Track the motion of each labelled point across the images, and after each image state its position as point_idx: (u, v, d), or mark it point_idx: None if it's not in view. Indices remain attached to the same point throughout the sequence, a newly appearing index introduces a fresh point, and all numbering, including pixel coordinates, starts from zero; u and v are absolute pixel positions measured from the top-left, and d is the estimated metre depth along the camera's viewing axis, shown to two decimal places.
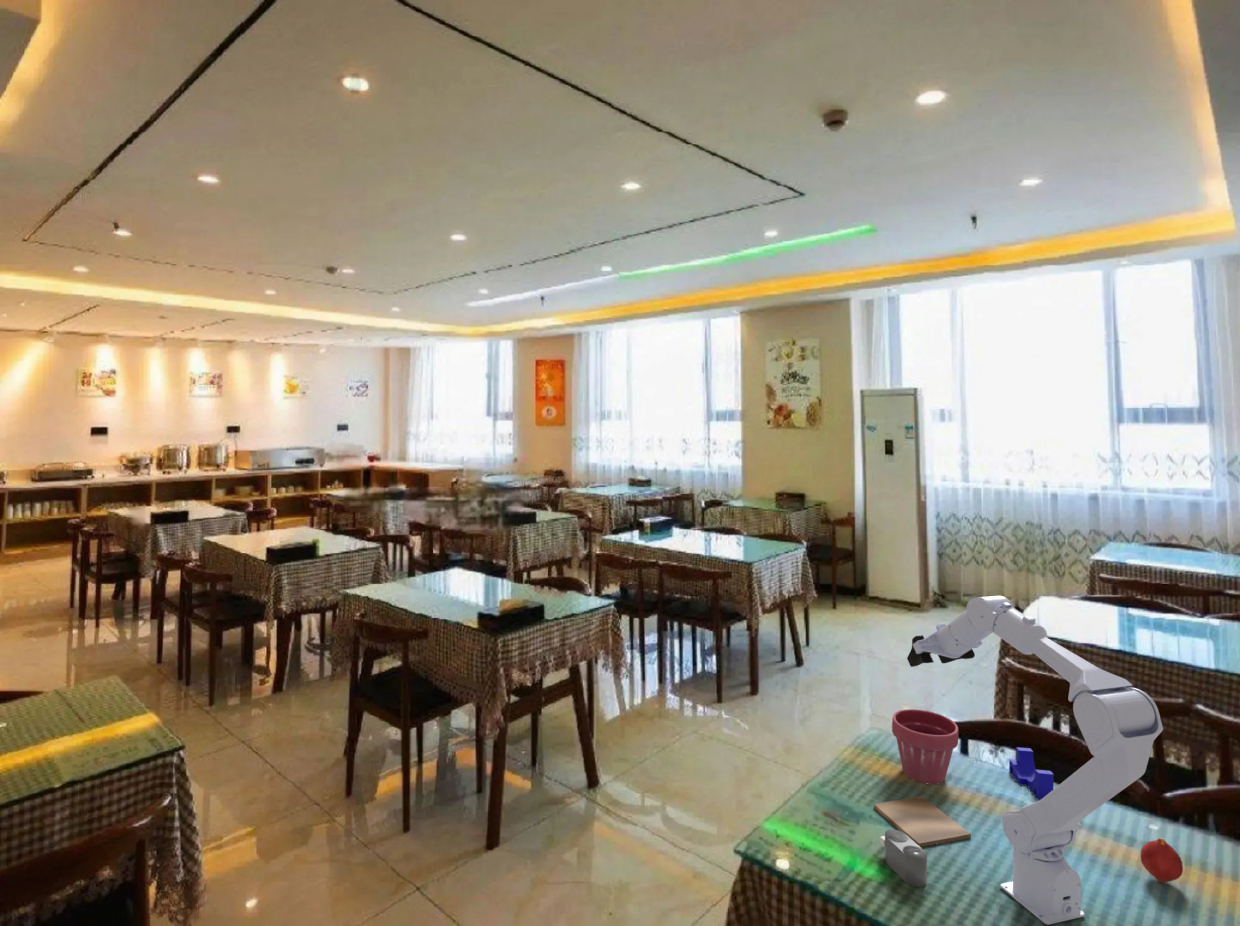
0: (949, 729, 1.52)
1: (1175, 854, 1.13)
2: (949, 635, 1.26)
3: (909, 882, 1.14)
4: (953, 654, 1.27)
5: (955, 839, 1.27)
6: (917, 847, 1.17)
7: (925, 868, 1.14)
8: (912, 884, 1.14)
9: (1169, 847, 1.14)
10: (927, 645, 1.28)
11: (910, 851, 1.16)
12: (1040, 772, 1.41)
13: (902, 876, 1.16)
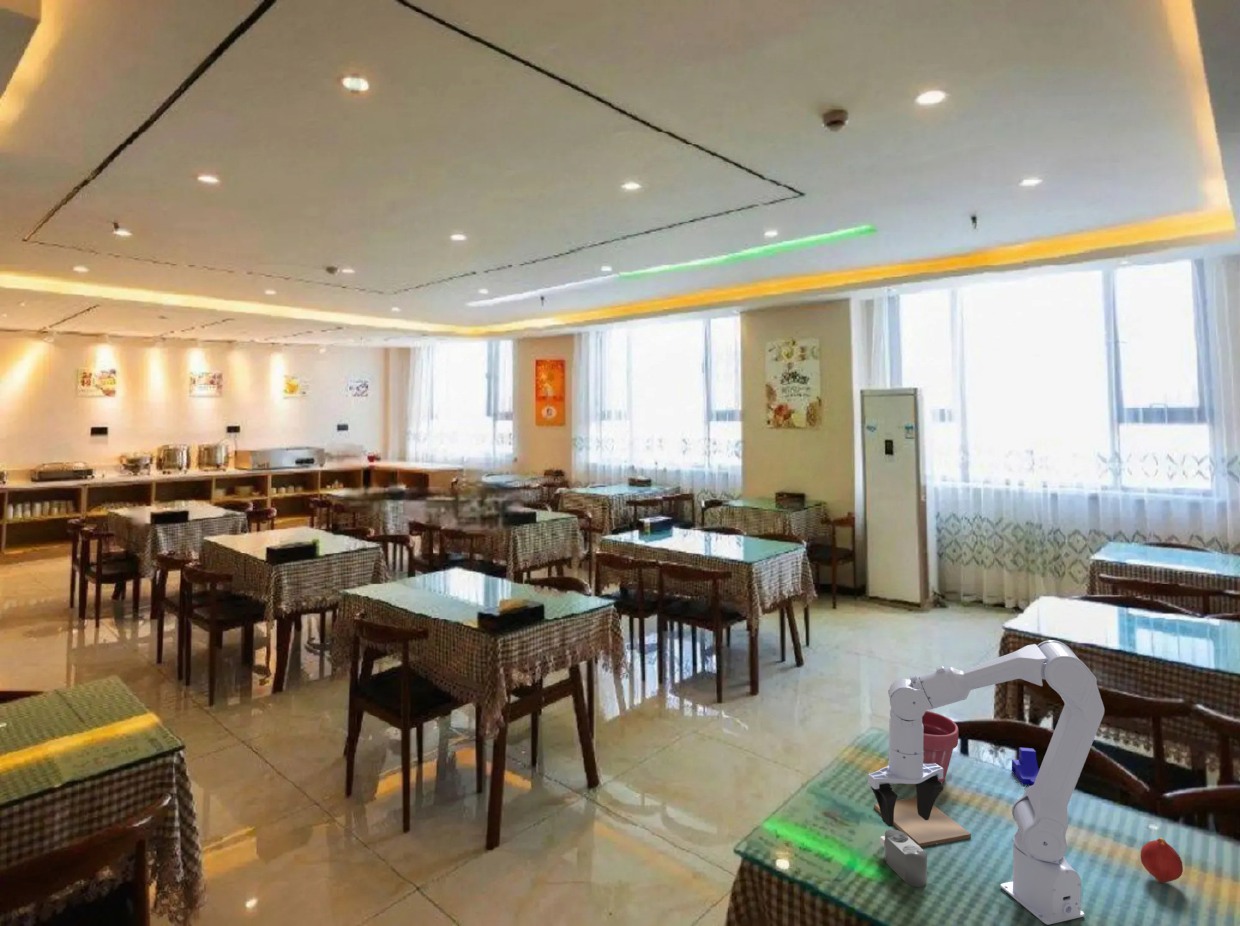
0: (949, 729, 1.52)
1: (1175, 854, 1.13)
2: (892, 752, 1.17)
3: (909, 882, 1.14)
4: (910, 776, 1.15)
5: (955, 839, 1.27)
6: (917, 847, 1.17)
7: (925, 868, 1.14)
8: (912, 884, 1.14)
9: (1169, 847, 1.14)
10: (880, 775, 1.16)
11: (910, 851, 1.16)
12: None
13: (902, 876, 1.16)
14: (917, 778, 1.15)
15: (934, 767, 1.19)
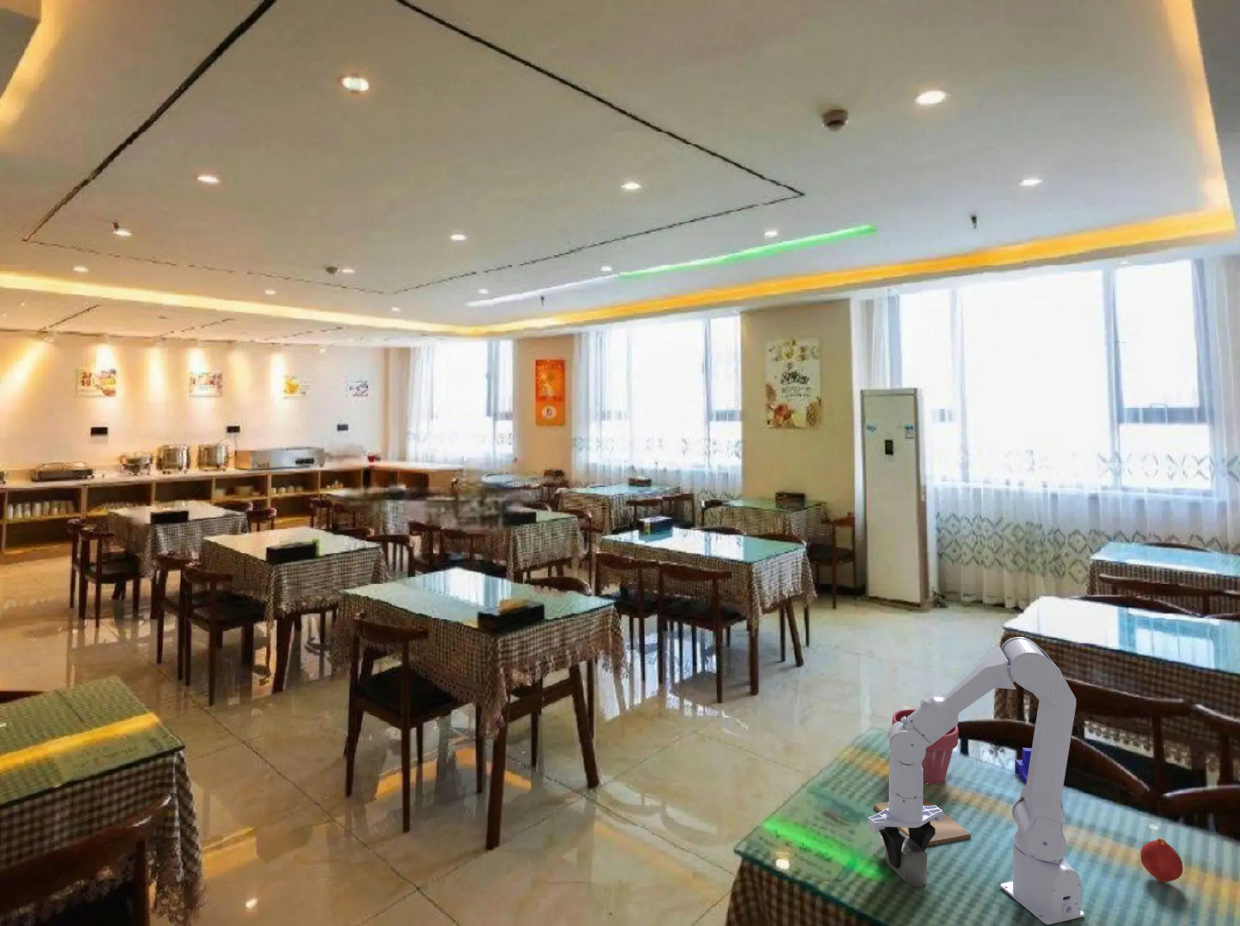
0: None
1: (1175, 854, 1.13)
2: (892, 796, 1.17)
3: (909, 882, 1.14)
4: (910, 820, 1.15)
5: (955, 839, 1.27)
6: (917, 847, 1.17)
7: (925, 868, 1.14)
8: (912, 884, 1.14)
9: (1169, 847, 1.14)
10: (880, 819, 1.16)
11: (910, 851, 1.16)
12: None
13: (902, 876, 1.16)
14: (917, 822, 1.15)
15: (934, 810, 1.19)
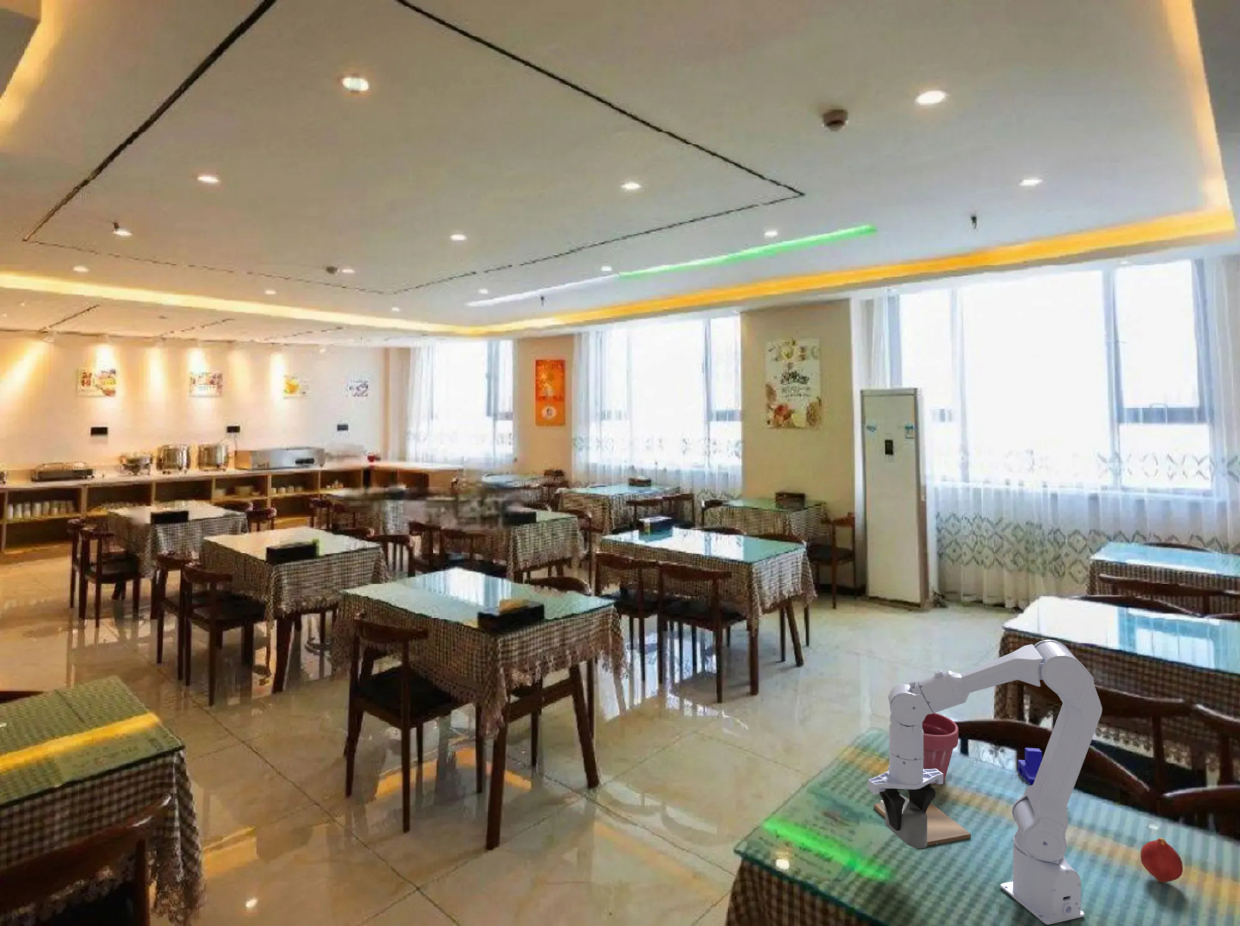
0: (949, 729, 1.52)
1: (1175, 854, 1.13)
2: (892, 758, 1.17)
3: (909, 843, 1.14)
4: (910, 782, 1.15)
5: (955, 839, 1.27)
6: (918, 809, 1.17)
7: (925, 829, 1.14)
8: (912, 845, 1.14)
9: (1169, 847, 1.14)
10: (880, 781, 1.16)
11: (910, 813, 1.16)
12: None
13: (902, 838, 1.16)
14: (917, 783, 1.15)
15: (934, 773, 1.19)
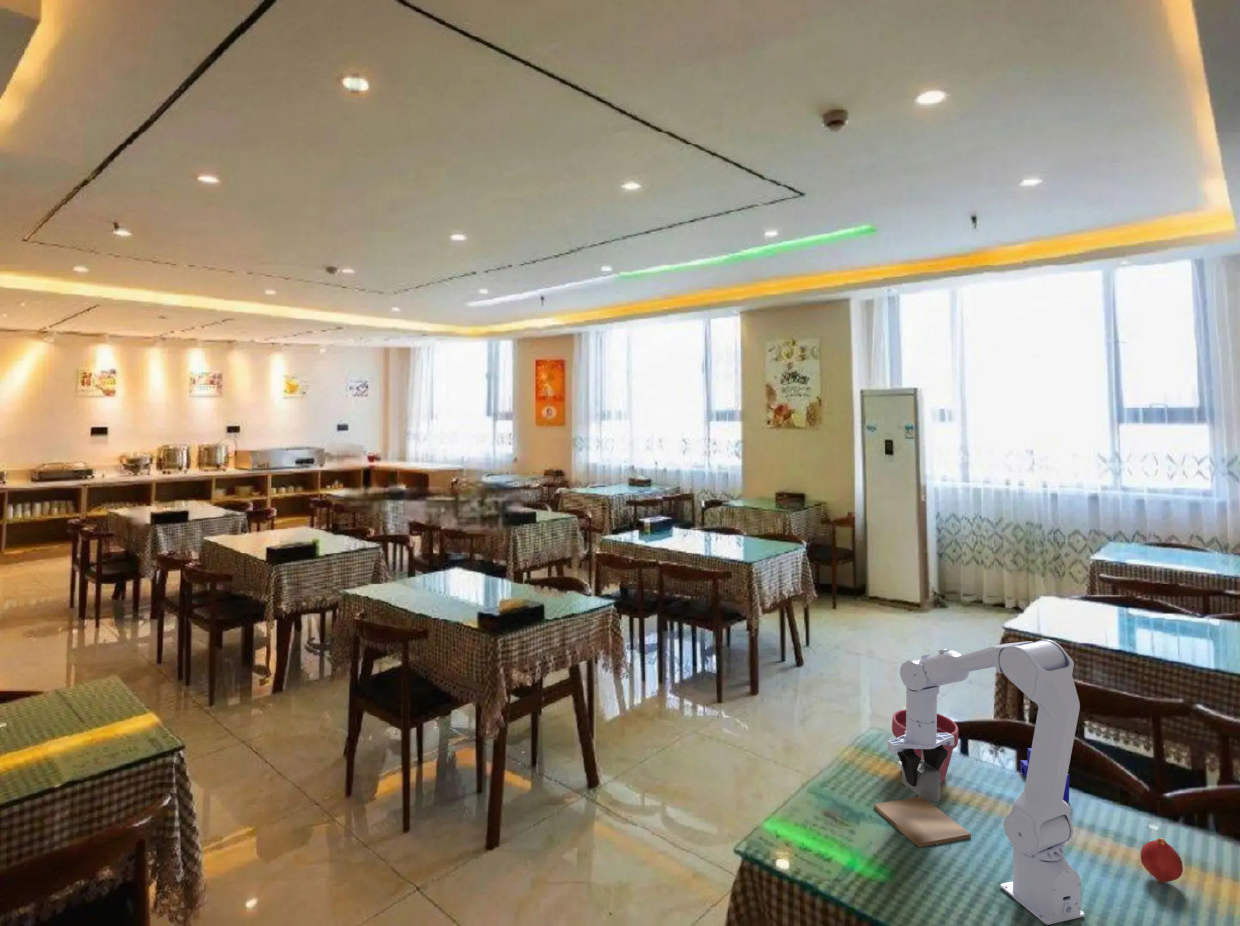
0: (949, 729, 1.52)
1: (1175, 854, 1.13)
2: (909, 722, 1.31)
3: (924, 797, 1.29)
4: (925, 742, 1.29)
5: (955, 839, 1.27)
6: (932, 767, 1.31)
7: (939, 784, 1.29)
8: (927, 798, 1.29)
9: (1169, 847, 1.14)
10: (899, 742, 1.31)
11: (925, 770, 1.30)
12: None
13: (918, 793, 1.30)
14: (931, 744, 1.30)
15: (946, 736, 1.34)
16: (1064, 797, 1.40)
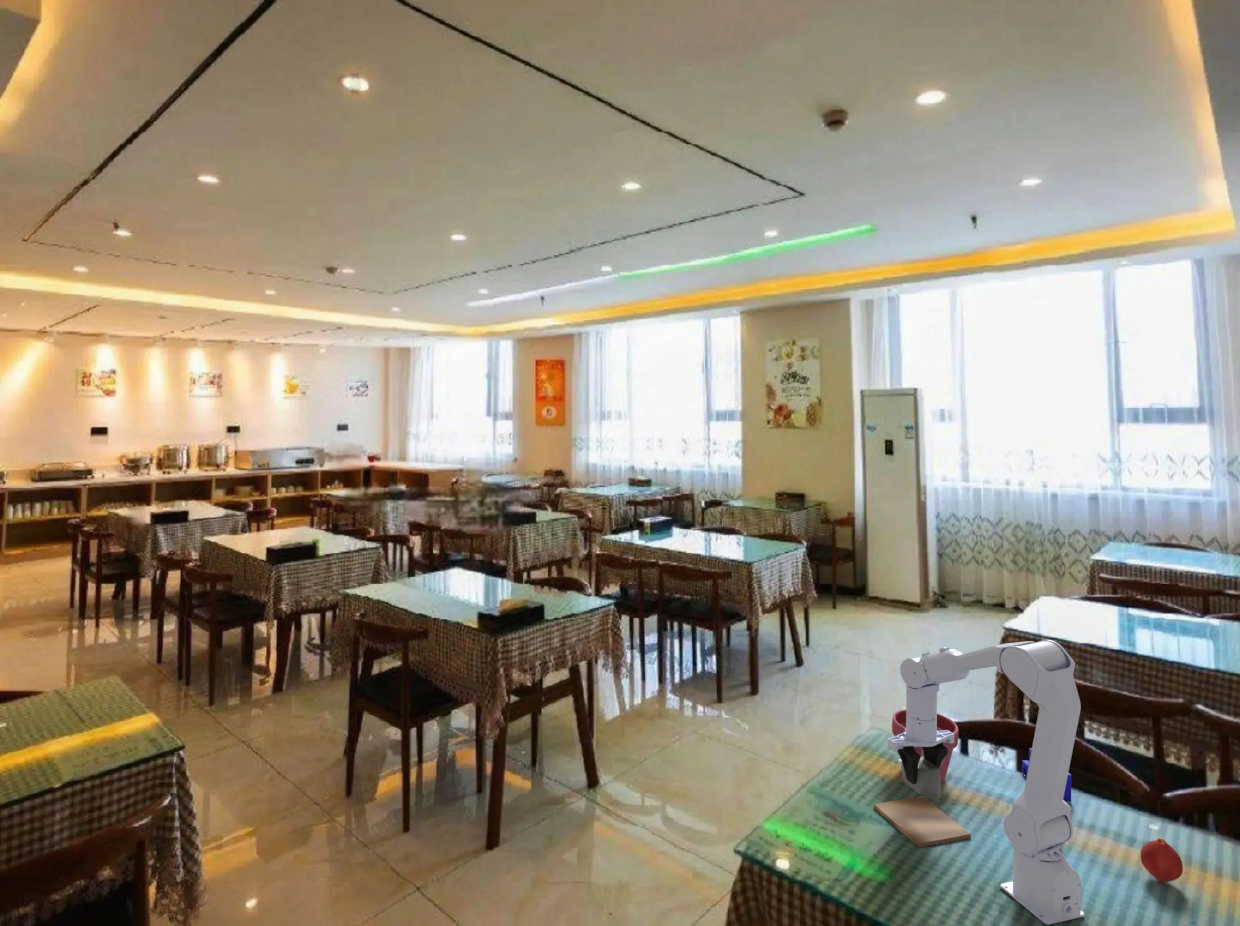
0: (949, 729, 1.52)
1: (1175, 854, 1.13)
2: (909, 719, 1.31)
3: (924, 794, 1.29)
4: (925, 740, 1.29)
5: (955, 839, 1.27)
6: (932, 765, 1.31)
7: (939, 782, 1.29)
8: (927, 796, 1.29)
9: (1169, 847, 1.14)
10: (899, 740, 1.31)
11: (925, 768, 1.30)
12: None
13: (918, 790, 1.30)
14: (931, 742, 1.29)
15: (946, 733, 1.34)
16: (1066, 797, 1.40)
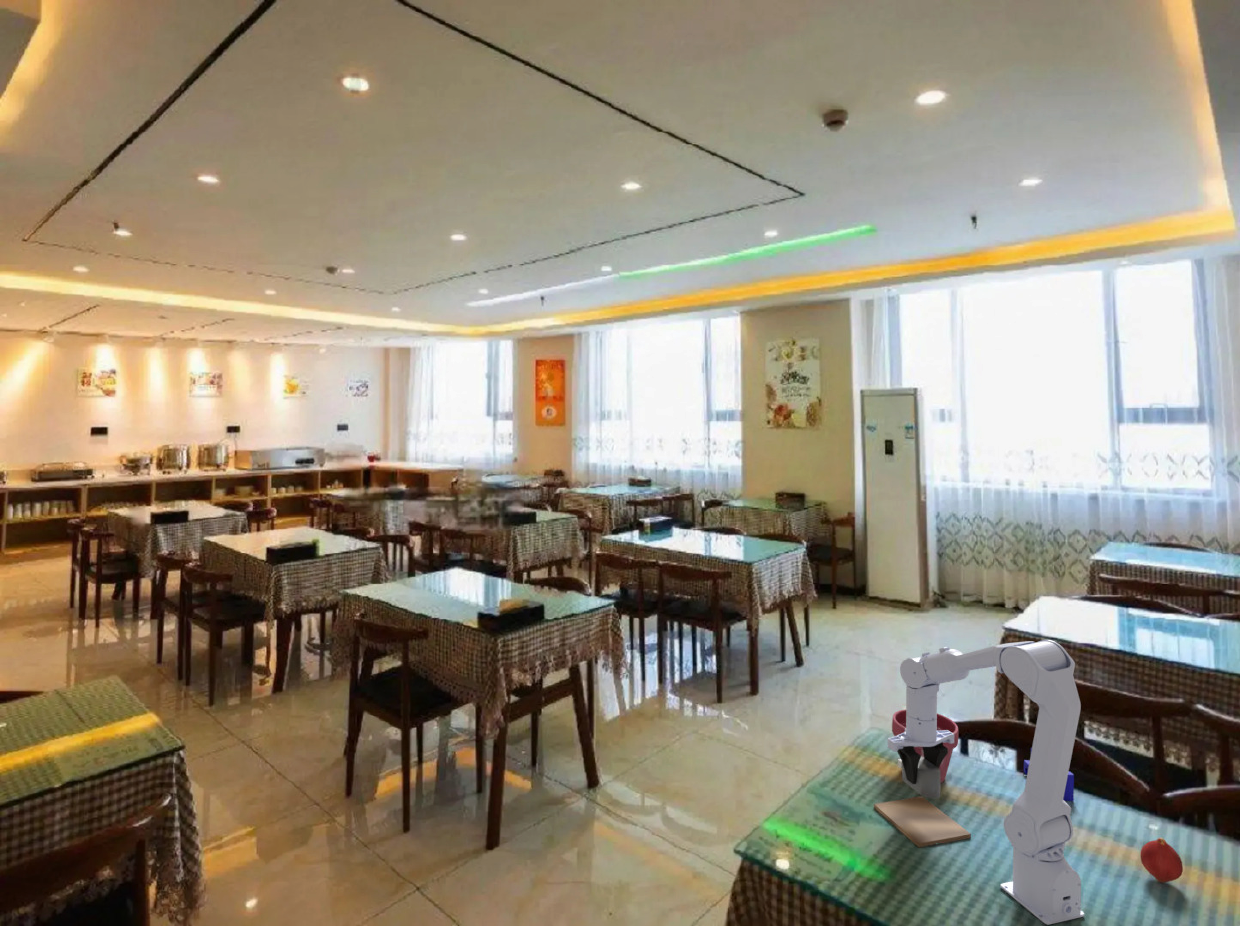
0: (949, 729, 1.52)
1: (1175, 854, 1.13)
2: (909, 719, 1.31)
3: (924, 794, 1.29)
4: (925, 740, 1.29)
5: (955, 839, 1.27)
6: (932, 765, 1.31)
7: (939, 782, 1.29)
8: (927, 796, 1.29)
9: (1169, 847, 1.14)
10: (899, 740, 1.31)
11: (925, 768, 1.30)
12: None
13: (918, 790, 1.30)
14: (931, 742, 1.29)
15: (946, 733, 1.34)
16: (1069, 797, 1.40)
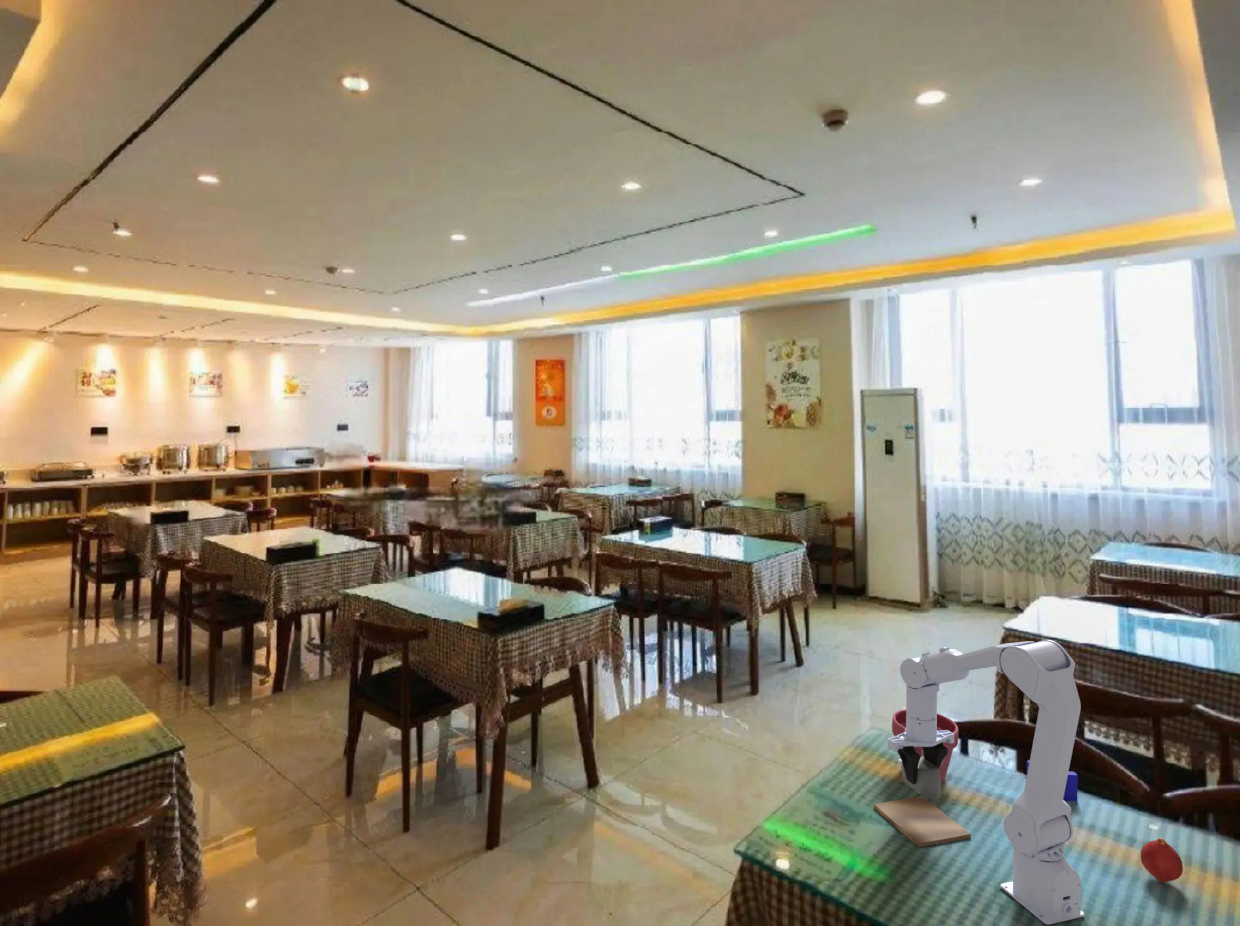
0: (949, 729, 1.52)
1: (1175, 854, 1.13)
2: (909, 719, 1.31)
3: (924, 794, 1.29)
4: (925, 740, 1.29)
5: (955, 839, 1.27)
6: (932, 765, 1.31)
7: (939, 782, 1.29)
8: (927, 796, 1.29)
9: (1169, 847, 1.14)
10: (899, 740, 1.31)
11: (925, 768, 1.30)
12: None
13: (918, 790, 1.30)
14: (931, 742, 1.29)
15: (946, 733, 1.34)
16: (1072, 797, 1.40)
